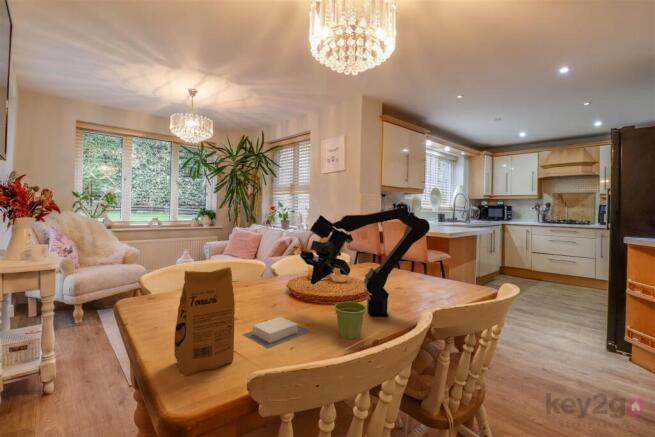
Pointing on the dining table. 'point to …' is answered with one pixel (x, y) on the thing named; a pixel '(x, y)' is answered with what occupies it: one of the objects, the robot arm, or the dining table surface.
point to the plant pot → (350, 319)
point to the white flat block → (275, 329)
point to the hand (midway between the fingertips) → (312, 283)
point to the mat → (269, 345)
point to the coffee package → (205, 321)
